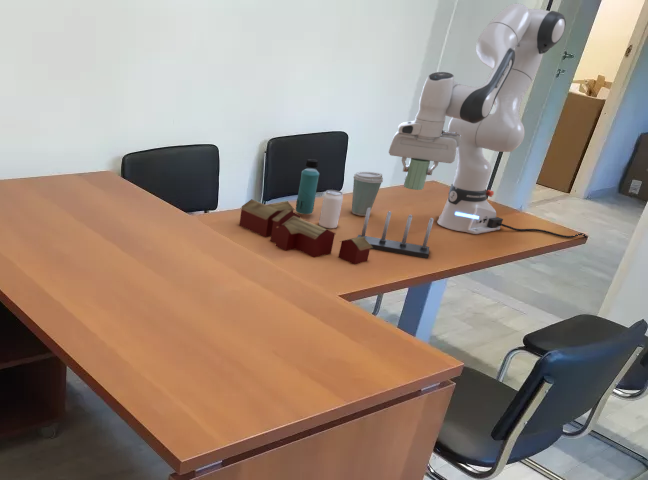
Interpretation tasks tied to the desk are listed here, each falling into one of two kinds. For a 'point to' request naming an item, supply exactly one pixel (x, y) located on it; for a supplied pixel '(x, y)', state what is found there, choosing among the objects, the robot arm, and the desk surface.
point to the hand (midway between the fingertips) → (416, 173)
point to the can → (331, 209)
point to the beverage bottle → (307, 188)
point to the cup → (416, 174)
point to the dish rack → (395, 245)
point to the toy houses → (298, 232)
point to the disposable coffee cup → (365, 191)
